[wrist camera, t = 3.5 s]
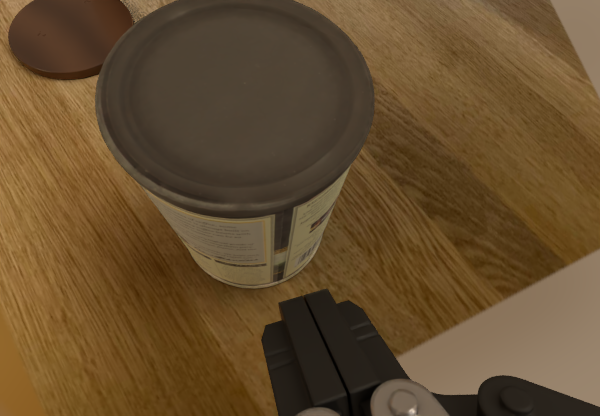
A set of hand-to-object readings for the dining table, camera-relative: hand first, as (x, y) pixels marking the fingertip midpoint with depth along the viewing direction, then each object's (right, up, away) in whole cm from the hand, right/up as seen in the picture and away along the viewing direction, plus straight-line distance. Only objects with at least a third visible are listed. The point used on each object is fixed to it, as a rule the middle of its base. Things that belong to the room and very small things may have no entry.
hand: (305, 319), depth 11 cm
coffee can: (-4, +2, +16) cm, 16 cm away
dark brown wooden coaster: (-20, +19, +21) cm, 34 cm away
